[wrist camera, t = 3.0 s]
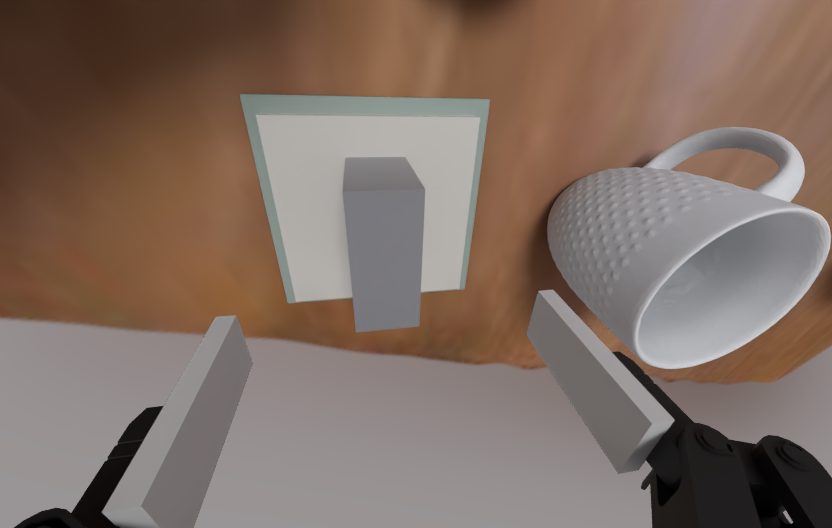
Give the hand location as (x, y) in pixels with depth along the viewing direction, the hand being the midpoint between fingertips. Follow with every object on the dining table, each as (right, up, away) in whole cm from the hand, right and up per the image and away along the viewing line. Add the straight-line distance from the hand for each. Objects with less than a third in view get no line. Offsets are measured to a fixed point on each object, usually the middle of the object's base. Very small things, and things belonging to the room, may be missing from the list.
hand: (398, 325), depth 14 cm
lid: (-2, +7, +10) cm, 13 cm away
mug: (+16, +8, +14) cm, 23 cm away
